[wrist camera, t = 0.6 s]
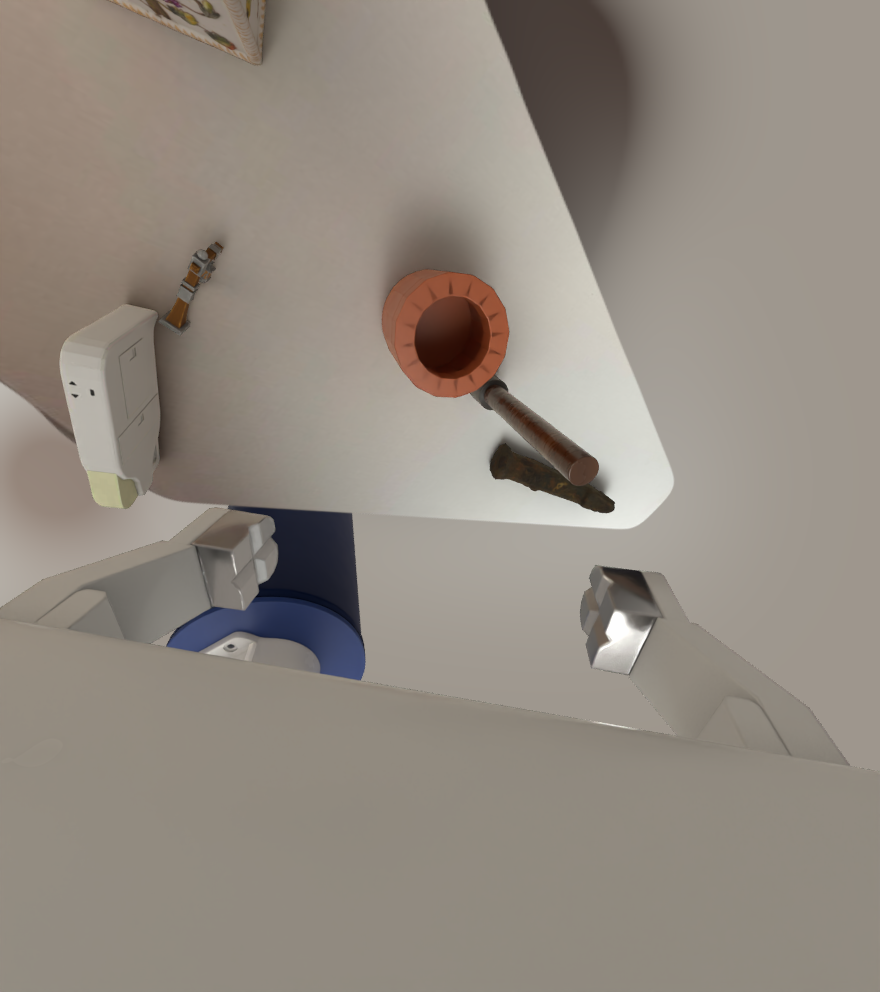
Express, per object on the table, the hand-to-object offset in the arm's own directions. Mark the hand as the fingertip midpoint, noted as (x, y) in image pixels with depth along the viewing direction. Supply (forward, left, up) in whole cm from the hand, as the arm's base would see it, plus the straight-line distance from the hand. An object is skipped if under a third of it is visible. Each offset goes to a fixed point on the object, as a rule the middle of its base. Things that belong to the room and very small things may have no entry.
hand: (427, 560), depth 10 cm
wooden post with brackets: (-12, +8, -36) cm, 38 cm away
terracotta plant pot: (+7, -1, -35) cm, 36 cm away
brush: (+11, -9, -35) cm, 38 cm away
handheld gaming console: (-21, +1, -36) cm, 41 cm away
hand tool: (+18, -23, -36) cm, 46 cm away
